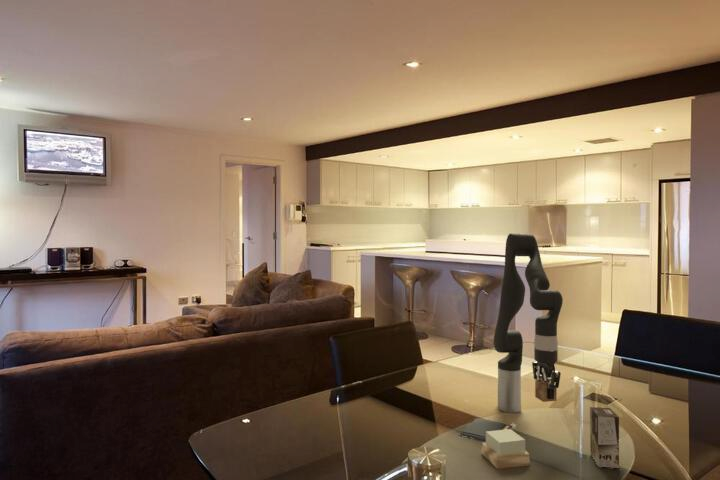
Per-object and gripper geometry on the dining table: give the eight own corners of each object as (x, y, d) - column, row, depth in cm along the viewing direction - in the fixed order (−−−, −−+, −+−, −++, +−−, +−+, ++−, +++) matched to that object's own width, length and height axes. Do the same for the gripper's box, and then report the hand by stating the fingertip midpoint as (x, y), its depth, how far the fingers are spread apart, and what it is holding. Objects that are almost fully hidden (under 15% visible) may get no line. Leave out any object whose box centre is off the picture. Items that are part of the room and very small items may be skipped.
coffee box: (620, 469, 147) (619, 417, 147) (597, 467, 148) (597, 415, 148) (610, 456, 156) (610, 407, 156) (589, 454, 157) (589, 406, 157)
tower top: (485, 443, 158) (485, 431, 158) (510, 440, 160) (510, 429, 160) (499, 455, 149) (499, 442, 149) (525, 452, 151) (525, 439, 151)
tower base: (481, 454, 159) (481, 442, 159) (511, 451, 161) (511, 439, 161) (497, 469, 148) (497, 457, 148) (529, 466, 150) (529, 453, 150)
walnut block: (535, 396, 167) (535, 379, 167) (548, 396, 168) (548, 379, 168) (543, 401, 162) (543, 384, 162) (556, 400, 163) (556, 383, 163)
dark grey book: (476, 415, 190) (514, 423, 181) (476, 419, 190) (514, 428, 181) (455, 431, 174) (495, 441, 165) (455, 436, 174) (495, 446, 165)
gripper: (525, 343, 171) (524, 390, 171) (547, 352, 157) (547, 404, 157) (544, 342, 173) (543, 389, 173) (568, 351, 159) (568, 402, 159)
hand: (545, 396), depth 165 cm, fingers closed on walnut block, 5 cm apart
